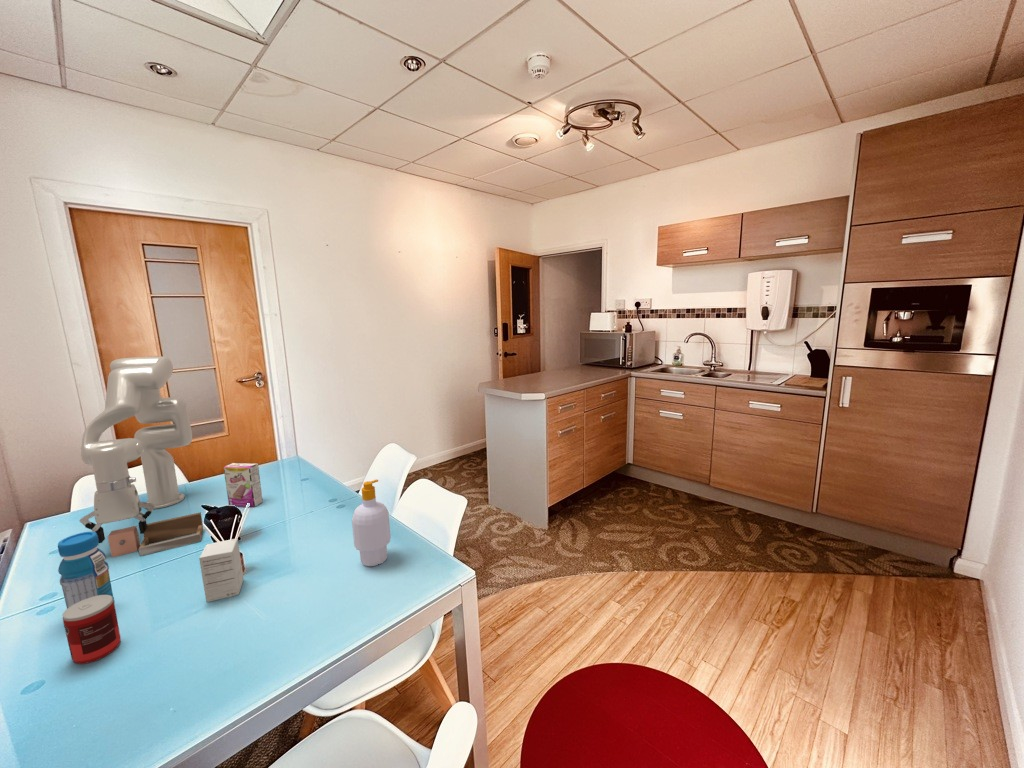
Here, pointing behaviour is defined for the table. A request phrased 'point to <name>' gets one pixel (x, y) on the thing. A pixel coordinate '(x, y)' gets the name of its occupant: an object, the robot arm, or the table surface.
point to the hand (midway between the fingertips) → (122, 536)
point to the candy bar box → (243, 484)
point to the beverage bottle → (83, 568)
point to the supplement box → (221, 569)
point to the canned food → (91, 628)
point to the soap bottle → (371, 527)
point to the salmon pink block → (124, 541)
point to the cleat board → (172, 533)
